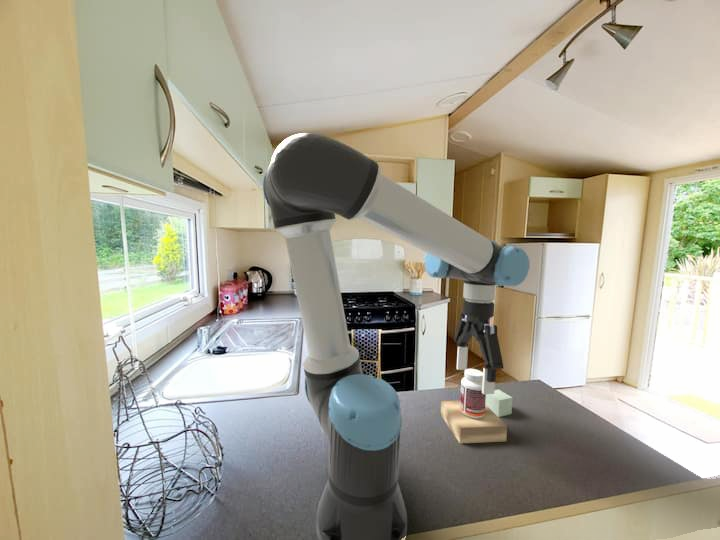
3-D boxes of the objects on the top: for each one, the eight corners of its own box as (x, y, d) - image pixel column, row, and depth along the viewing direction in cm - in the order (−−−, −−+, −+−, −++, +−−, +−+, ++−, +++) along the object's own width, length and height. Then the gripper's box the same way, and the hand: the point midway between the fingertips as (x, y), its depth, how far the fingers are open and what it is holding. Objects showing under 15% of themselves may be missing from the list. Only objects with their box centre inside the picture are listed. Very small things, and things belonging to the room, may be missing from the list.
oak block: (506, 441, 69) (507, 425, 69) (459, 443, 68) (460, 427, 68) (480, 413, 81) (481, 399, 81) (440, 414, 80) (441, 401, 80)
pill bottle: (489, 415, 73) (492, 374, 73) (475, 422, 70) (477, 379, 69) (468, 403, 79) (471, 365, 78) (454, 410, 75) (456, 370, 74)
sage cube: (511, 414, 81) (512, 397, 81) (498, 417, 80) (499, 400, 79) (497, 405, 86) (498, 389, 86) (484, 407, 84) (485, 391, 84)
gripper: (525, 310, 60) (518, 406, 62) (468, 293, 85) (464, 361, 86) (492, 310, 59) (486, 406, 61) (444, 292, 84) (441, 361, 86)
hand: (473, 380), depth 74 cm, fingers open, 13 cm apart
